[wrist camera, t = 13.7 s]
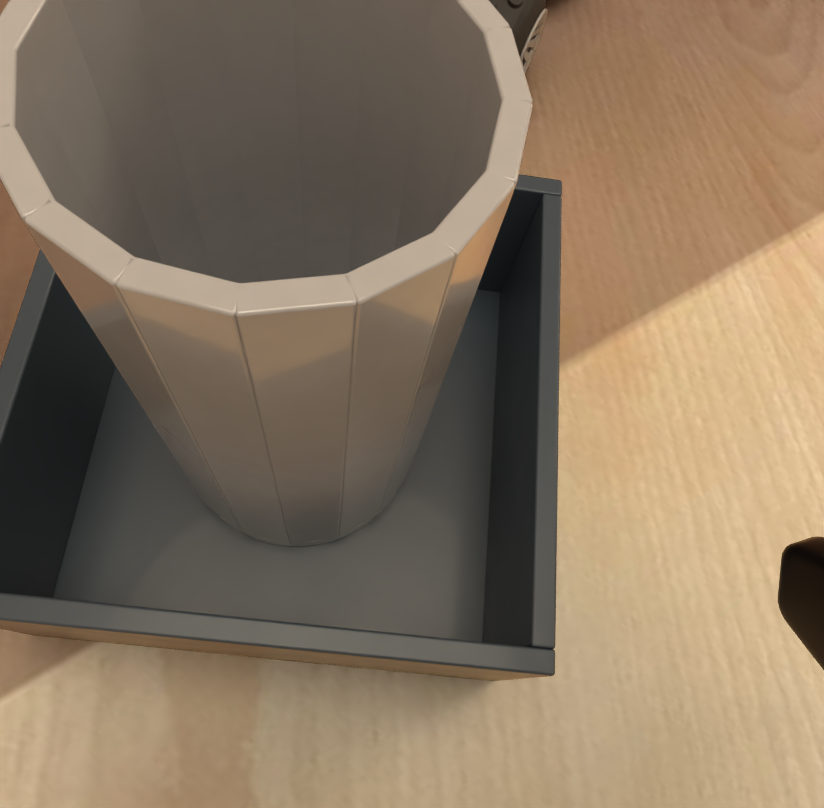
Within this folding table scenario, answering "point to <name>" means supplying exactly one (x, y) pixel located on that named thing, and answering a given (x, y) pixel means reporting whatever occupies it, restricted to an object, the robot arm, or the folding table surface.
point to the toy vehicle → (524, 24)
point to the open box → (291, 565)
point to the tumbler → (269, 223)
